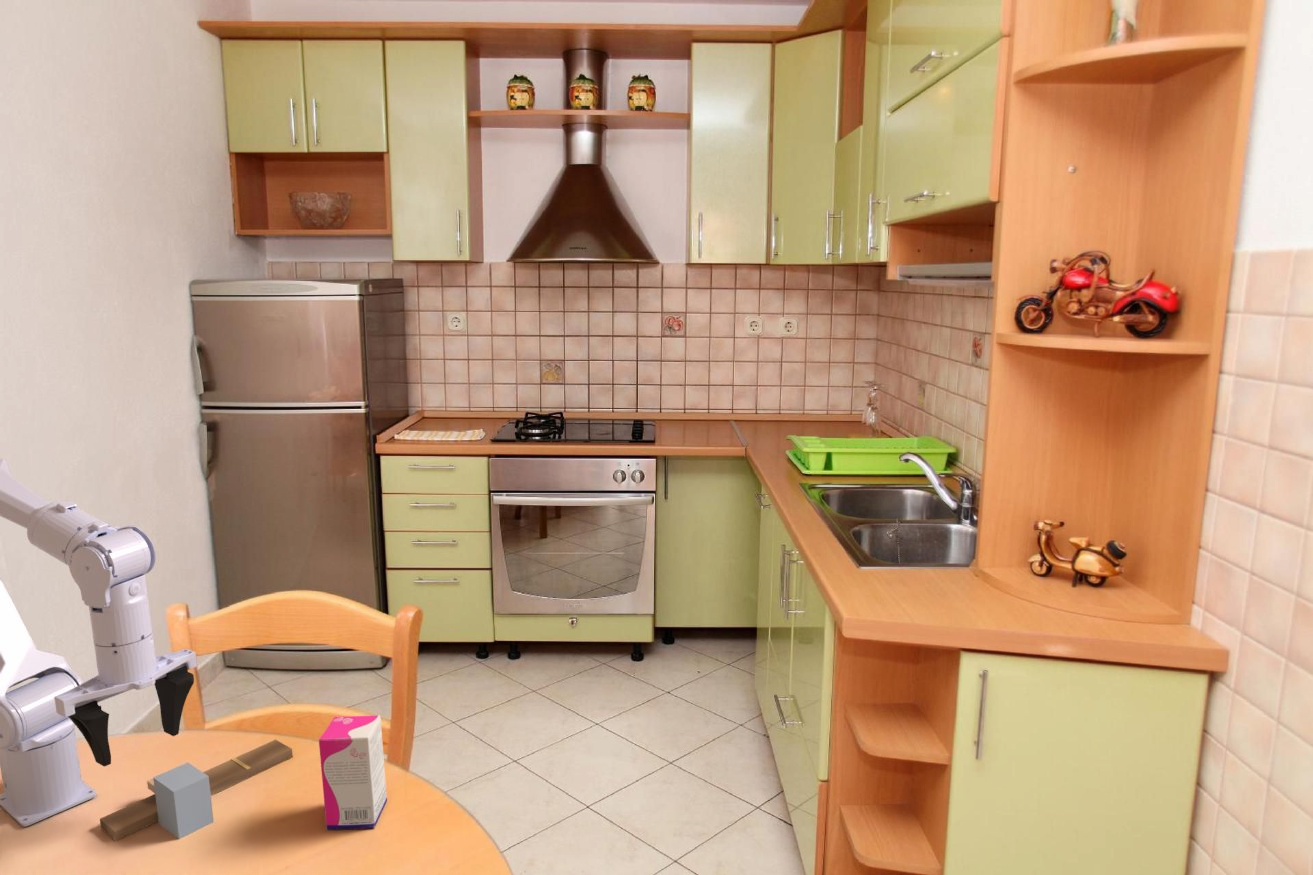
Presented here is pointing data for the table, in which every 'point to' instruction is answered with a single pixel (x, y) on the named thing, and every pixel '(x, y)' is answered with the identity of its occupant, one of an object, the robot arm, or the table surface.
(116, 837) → the board
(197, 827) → the grey tall block
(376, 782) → the supplement box
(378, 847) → the table surface
